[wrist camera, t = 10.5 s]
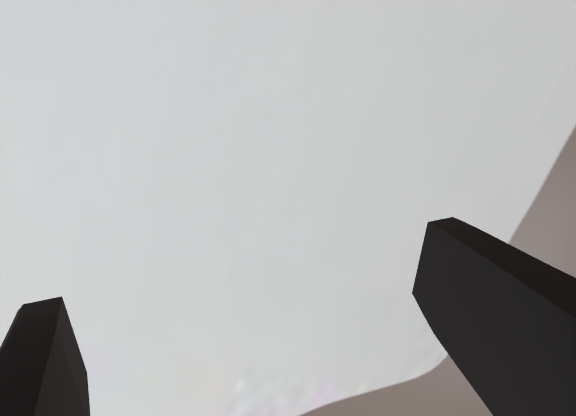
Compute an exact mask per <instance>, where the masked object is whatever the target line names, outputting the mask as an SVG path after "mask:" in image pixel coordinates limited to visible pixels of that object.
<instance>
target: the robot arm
mask: <svg viewBox="0 0 576 416" xmlns="http://www.w3.org/2000/svg"><path fill="white" fill-rule="evenodd" d="M412 294H413V295H414V297H415V299H416V301H417V303H418V305H419V307H420V309H421V311H422V313H423V315H424V317H425V318H426V320H427V322H428V324H429V326H430V327H431V329H432V331H433V333H434V334H435V336H436V337H437V339H438V340H439V341H440V343H441V344H442V346H443V347H444V348H445V350H446V351H447V353H448V354H449V355H450V357H451V358H452V359H453V361H454V362H455V364H456V365H457V367H458V368H459V369H460V370H461V372H462V373H463V375H464V376H465V377H466V379H467V380H468V382H469V383H470V384H471V386H472V387H473V388H474V390H475V391H476V392H477V394H478V395H479V397H480V398H481V399H482V401H483V402H484V403H485V405H486V406H487V408H488V409H489V410H490V412H491V413H492V414H493V416H576V278H575V277H573V276H570V275H568V274H566V273H564V272H562V271H560V270H558V269H556V268H554V267H552V266H550V265H548V264H546V263H544V262H542V261H540V260H538V259H536V258H534V257H532V256H530V255H528V254H526V253H525V252H523V251H521V250H519V249H517V248H515V247H513V246H511V245H509V244H507V243H505V242H503V241H501V240H499V239H497V238H495V237H493V236H492V235H490V234H488V233H486V232H484V231H482V230H480V229H478V228H476V227H473V226H471V225H469V224H467V223H465V222H463V221H461V220H458V219H456V218H454V217H451V218H446V219H441V220H436V221H431V222H428V224H427V228H426V233H425V237H424V242H423V246H422V251H421V255H420V260H419V264H418V269H417V273H416V278H415V283H414V287H413V292H412ZM0 416H90V406H89V392H88V380H87V371H86V368H85V365H84V362H83V359H82V356H81V353H80V350H79V347H78V344H77V341H76V338H75V335H74V332H73V329H72V326H71V323H70V320H69V317H68V314H67V310H66V307H65V304H64V301H63V298H62V297H57V298H52V299H48V300H43V301H38V302H33V303H28V304H23V305H22V307H21V308H20V309H19V310H18V312H17V314H16V316H15V318H14V320H13V322H12V325H11V327H10V329H9V331H8V333H7V335H6V337H5V339H4V341H3V343H2V345H1V347H0Z"/></svg>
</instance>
